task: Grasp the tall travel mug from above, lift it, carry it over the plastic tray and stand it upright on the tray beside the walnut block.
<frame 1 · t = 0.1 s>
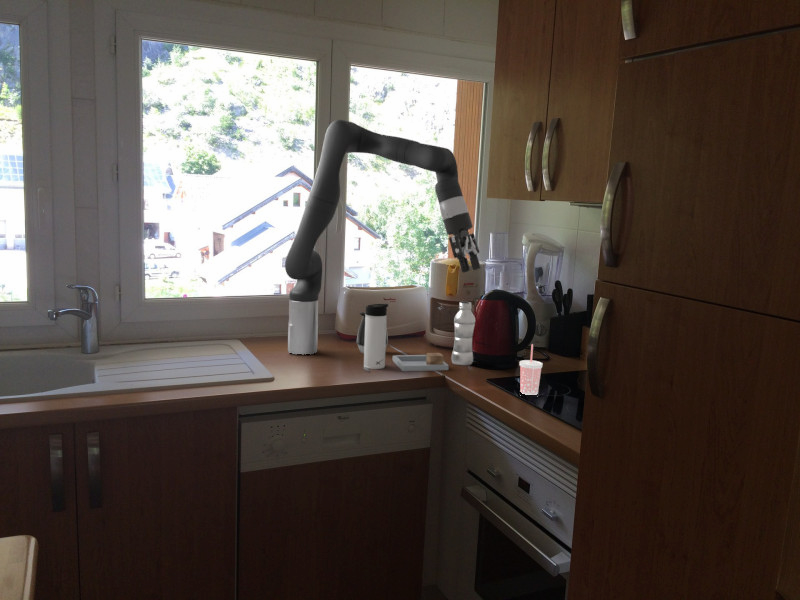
hand: (471, 270, 189), 31 cm above the worktop, tool tilted 20°, fingers open, 8 cm apart
beverage cup: (528, 396, 180), on the worktop
travel mug: (374, 370, 200), on the worktop
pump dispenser: (371, 354, 220), on the worktop
walnut block: (434, 367, 201), point 1 cm above the worktop, touching tray
plastic bottle: (461, 366, 208), on the worktop
tray: (419, 368, 204), on the worktop
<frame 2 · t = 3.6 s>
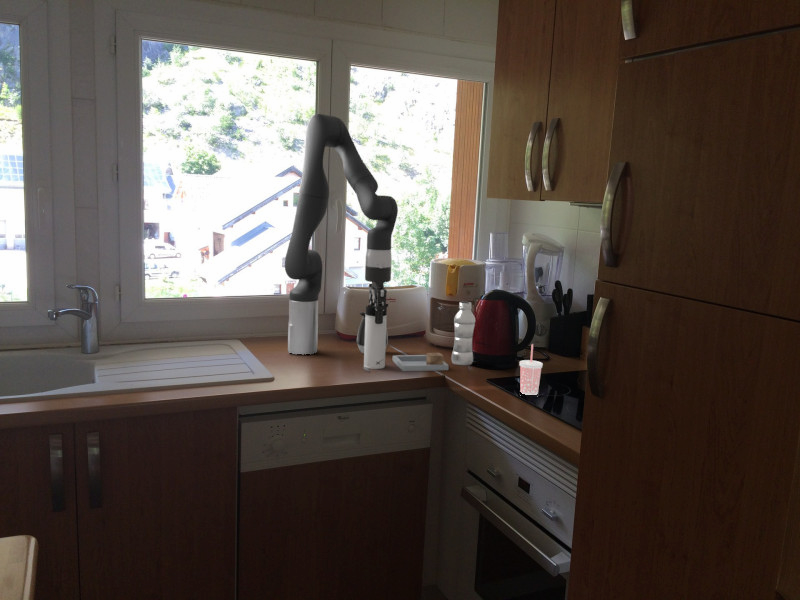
hand: (376, 321, 198), 15 cm above the worktop, tool pointing down, fingers closed on travel mug, 6 cm apart
travel mug: (374, 370, 200), on the worktop, touching gripper
everything else where it was.
when the fingers open (17 cm above the worktop, at t = 9.2 s): travel mug drops 1 cm, resting on tray.
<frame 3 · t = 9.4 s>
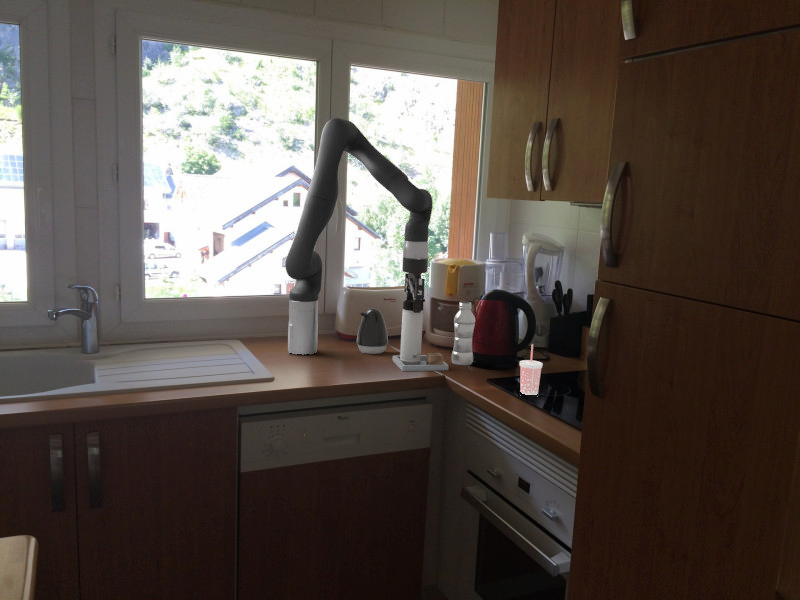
hand: (413, 310, 202), 18 cm above the worktop, tool pointing down, fingers open, 8 cm apart
travel mug: (410, 363, 205), point 1 cm above the worktop, touching tray
everything else where it was.
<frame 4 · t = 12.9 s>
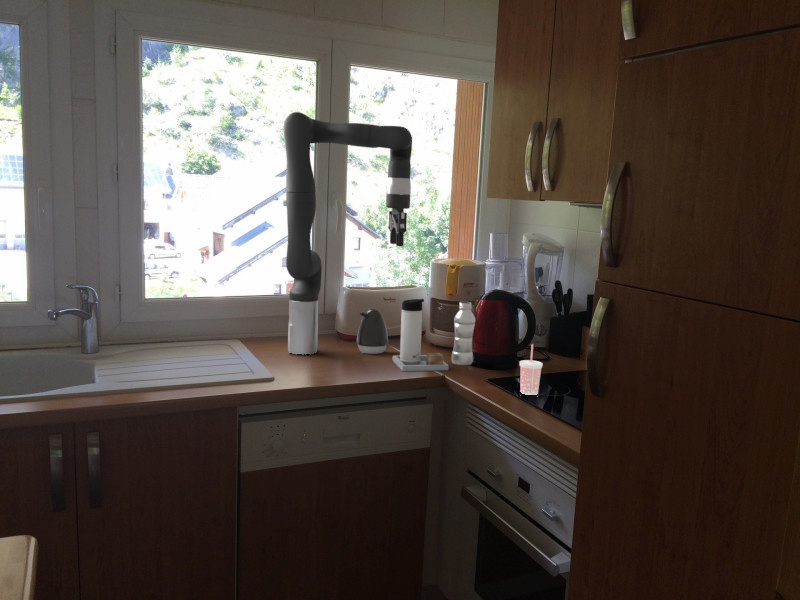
hand: (396, 244, 212), 36 cm above the worktop, tool pointing down, fingers open, 8 cm apart
nothing on the worktop moved.
at the end: travel mug inside the target area on the tray (3.1 cm from its centre), point 0.8 cm above the tray's base; travel mug tilted 0°; the gripper is holding nothing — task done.
